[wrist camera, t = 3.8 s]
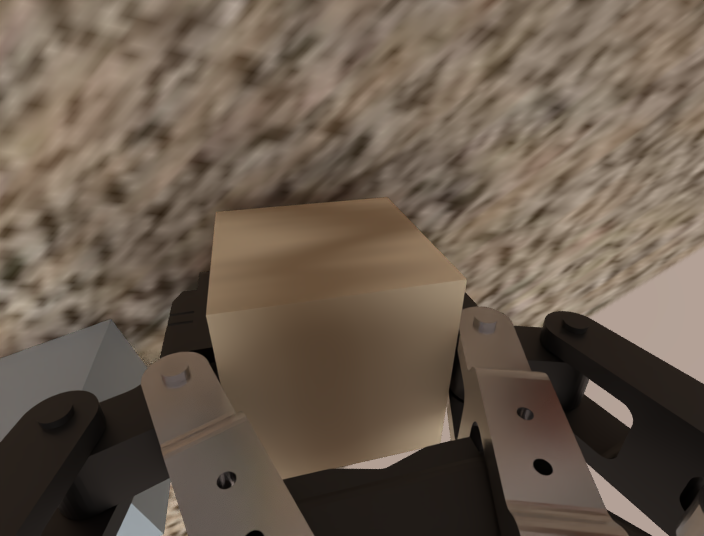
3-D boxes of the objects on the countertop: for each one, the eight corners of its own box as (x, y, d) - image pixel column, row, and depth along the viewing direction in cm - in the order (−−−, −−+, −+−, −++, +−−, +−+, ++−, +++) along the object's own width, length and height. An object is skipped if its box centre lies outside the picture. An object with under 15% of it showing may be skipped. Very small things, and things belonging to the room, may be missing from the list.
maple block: (387, 197, 12) (467, 278, 8) (381, 328, 15) (440, 444, 11) (215, 211, 11) (206, 315, 7) (239, 351, 14) (242, 489, 10)
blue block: (111, 317, 14) (62, 437, 10) (179, 409, 17) (163, 534, 13) (-38, 370, 14) (-157, 520, 9) (56, 456, 16) (-3, 602, 12)
